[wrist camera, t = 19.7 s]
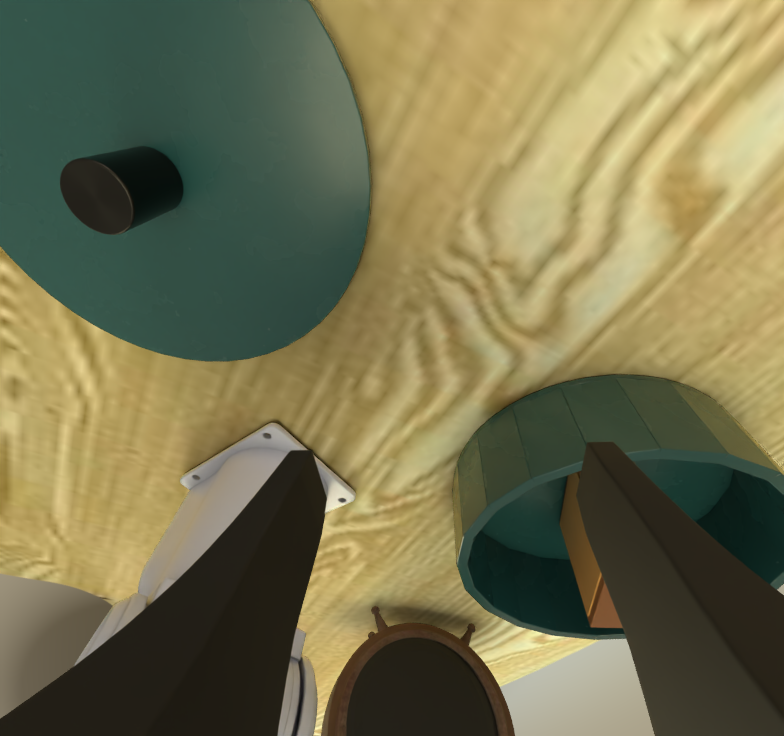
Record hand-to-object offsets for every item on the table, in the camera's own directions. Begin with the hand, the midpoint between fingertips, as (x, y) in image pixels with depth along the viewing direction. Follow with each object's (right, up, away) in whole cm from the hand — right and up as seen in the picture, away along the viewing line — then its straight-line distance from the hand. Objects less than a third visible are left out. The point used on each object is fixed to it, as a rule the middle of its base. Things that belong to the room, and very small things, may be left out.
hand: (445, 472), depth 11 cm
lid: (-11, +11, +6) cm, 16 cm away
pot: (+11, -4, +15) cm, 19 cm away
